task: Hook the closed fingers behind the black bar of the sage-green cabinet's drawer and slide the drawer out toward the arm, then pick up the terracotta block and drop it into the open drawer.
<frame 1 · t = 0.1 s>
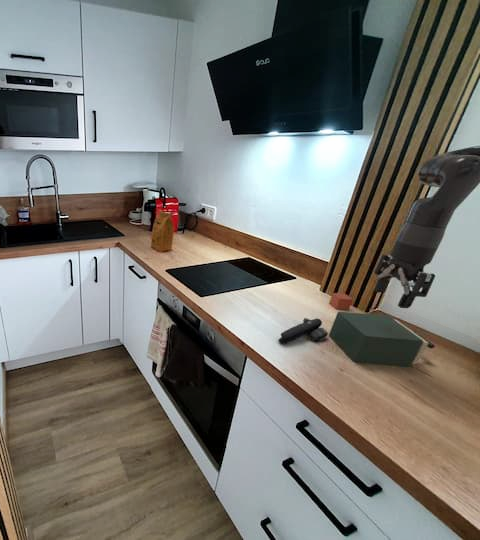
hand: (390, 299, 77), 19 cm above the worktop, tool pointing down, fingers open, 8 cm apart
cabinet: (365, 350, 86), on the worktop
coffee package: (160, 248, 167), on the worktop
can opener: (299, 338, 91), on the worktop
block: (338, 306, 110), on the worktop
drawer: (389, 339, 84), point 5 cm above the worktop, slide at 1.0 cm
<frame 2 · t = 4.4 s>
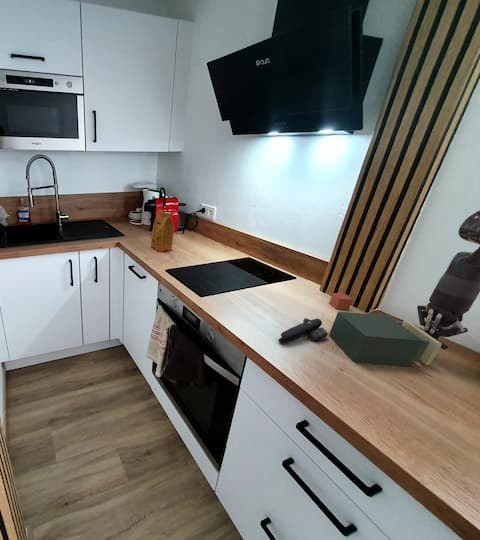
hand: (426, 343, 83), 4 cm above the worktop, tool pointing down, fingers closed
drawer: (402, 340, 84), point 5 cm above the worktop, slide at 4.4 cm, touching gripper
everything else where it was.
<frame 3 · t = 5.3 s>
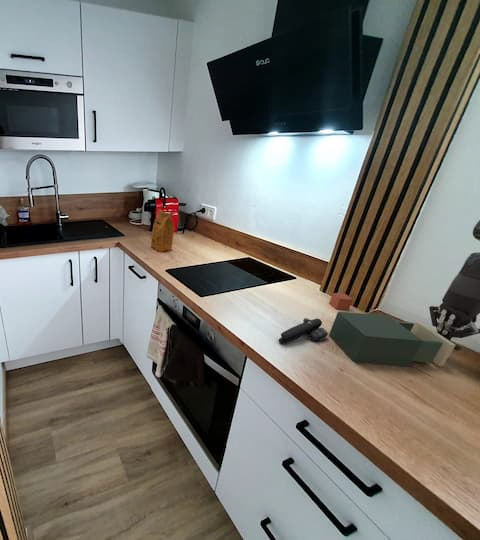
hand: (438, 344, 83), 4 cm above the worktop, tool pointing down, fingers closed
drawer: (414, 341, 83), point 5 cm above the worktop, slide at 7.7 cm, touching gripper
everything else where it was.
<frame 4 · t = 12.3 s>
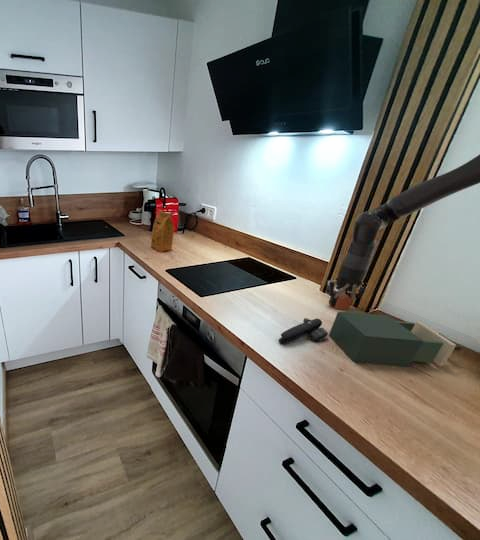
hand: (339, 305, 110), 0 cm above the worktop, tool pointing down, fingers closed on block, 4 cm apart
block: (338, 306, 110), on the worktop, touching gripper
drawer: (415, 341, 83), point 5 cm above the worktop, slide at 7.9 cm
everything else where it was.
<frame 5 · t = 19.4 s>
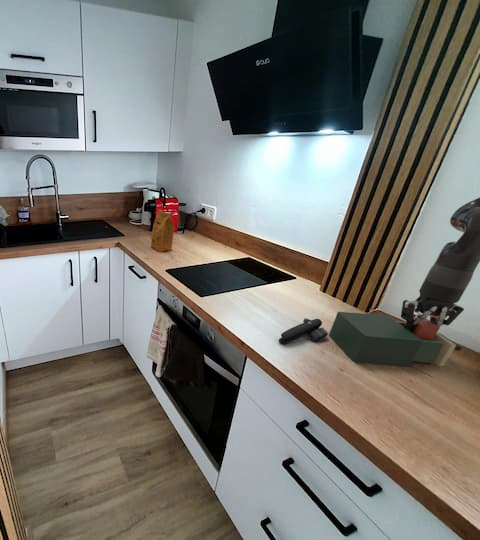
hand: (417, 334, 82), 7 cm above the worktop, tool pointing down, fingers closed on block, 4 cm apart
block: (416, 335, 82), point 7 cm above the worktop, touching gripper
everything else where it was.
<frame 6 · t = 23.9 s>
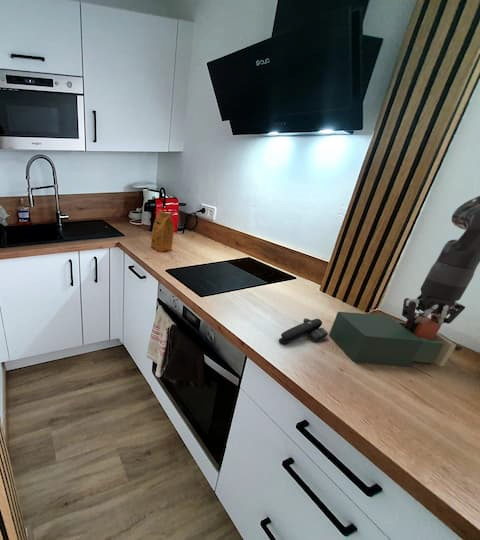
hand: (418, 332, 82), 8 cm above the worktop, tool pointing down, fingers closed on block, 4 cm apart
block: (417, 333, 82), point 7 cm above the worktop, touching gripper
everything else where it was.
when the fingers open (10 cm above the worktop, at t = 35.3 s): block drops 8 cm, resting on drawer.
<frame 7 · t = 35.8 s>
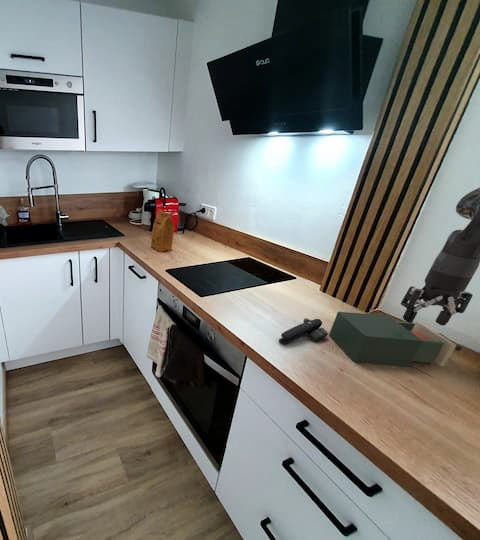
hand: (423, 322, 81), 11 cm above the worktop, tool pointing down, fingers open, 8 cm apart
block: (409, 348, 84), point 2 cm above the worktop, touching drawer
drawer: (415, 341, 83), point 5 cm above the worktop, slide at 7.9 cm, touching block
everything else where it was.
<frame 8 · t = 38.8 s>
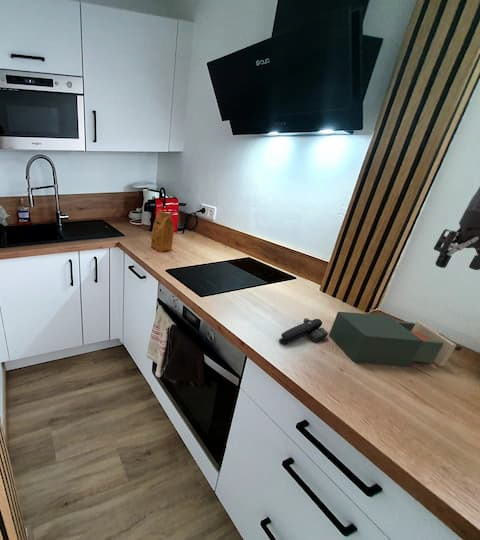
hand: (456, 267, 79), 26 cm above the worktop, tool pointing down, fingers open, 8 cm apart
nothing on the worktop moved.
at the end: drawer slide at 7.9 cm; block inside the target area in the drawer (0.5 cm from its centre), point 2.0 cm above the cabinet's base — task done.
